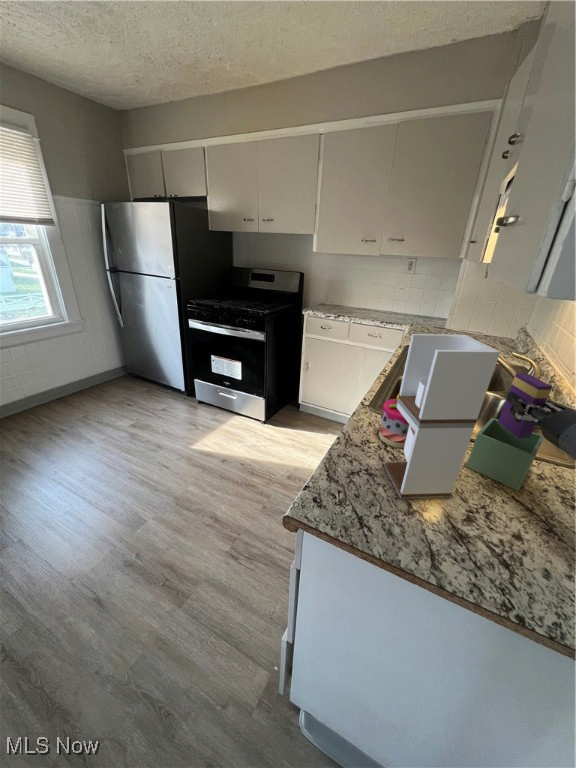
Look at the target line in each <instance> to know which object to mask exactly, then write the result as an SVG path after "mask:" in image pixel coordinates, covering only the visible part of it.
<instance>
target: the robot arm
mask: <svg viewBox="0 0 576 768" xmlns="http://www.w3.org/2000/svg"><path fill="white" fill-rule="evenodd" d="M506 400H507V401H508V402H510V403H511V404H512V405H511V407H510V409H509V410H510V412H511V414H512V416H513V418H514V420H515V421H516V422H521V421H522V420H527V421H530V422H531V423H532V424H533V425H535V427H537V428H540V430H541V433H542V434H541V435H542V436H544V439H545V440H546V441H548V442H549V443H550V444H552V445H553V446H555V447H556V448H557V449H559V450H560V451H561V452H562V453H564V454H566V455H567V456H568V457H569V458H571V459H572V460H574V461H575V462H576V409H574V408H572V407H569V406H567V405H563V404H562V403H561V404H560V403H558V402H555V401H553V400H551V399H550V400H549V399H547V400H546V402H545V403H544V405H543V407H542V406H540V405H538V404H536V403H534V402H530V403H529V402H527V401H526V400H524V399H522V398H521V397H519V396H518V395H516V394H514V393H513V392H509V391H508V392H507V395H506V398H505V401H506ZM523 405H525V406H526V407H525V409H523Z"/></svg>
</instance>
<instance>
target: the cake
mask: <svg viewBox="0 0 576 768" xmlns="http://www.w3.org/2000/svg"><path fill="white" fill-rule="evenodd" d="M398 398H399V393H398V394H397V396H396V398H391V399H387V400H386V401H385V402H384V403H383V406H382V410H381V415H380V419H381V421H380V422H381V424H380V425H379V426H378V428H379V433H378V437H379V438H380V440H381V441H382V442H383V443H385V444H387V445H388V446H391V447H394V448H399V449H404V446H405V441H406V437H407V433H408V429H409V425H410V424H409V423H408V422H407V421H406V419H405V418H404V417H403V415H402V414H401V413H400V411H399V410H398V409H397V403H398Z"/></svg>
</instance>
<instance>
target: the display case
mask: <svg viewBox="0 0 576 768" xmlns="http://www.w3.org/2000/svg"><path fill="white" fill-rule="evenodd" d="M500 354H501V351H499V350H497V349H495V348H493V347H491V346H489V345H487V344H485V343H483V342H481V341H480V340H477V339H475V338H473V337H471V336H469V335H467V334H454V333H453V334H451V333H450V334H449V333H447V334H446V333H444V334H443V333H440V334H439V333H438V334H437V333H436V334H435V333H411V335H410V340H409V346H408V351H407V356H406V361H405V365H404V369H403V373H402V374H403V375H402V379H401V383H400V389H399V393H398V394H399V398H398V403H397V409H398V410H399V411H400V413H401V414H402V415H403V417H404V418H405V419H406V421H407V422H408V423H409V424H410V425H409V429H408V433H407V437H406V441H405V446H404V448H403V455H404V458H405V460H406V461H391V462H390V461H387V462H386V461H385V462H384V465H383V467H384V469H385V471H386V473H387V475H388V477H389V478H390V481H391V483H392V484H393V486H394V488H395V491H396V492H397V494H398V496H399V498H400V499H401V500H402V499H434V498H438V499H439V498H451V497H452V494H453V491H454V489H455V485H456V483H457V480H458V476H459V473H460V470H461V468H462V465H463V461H464V459H465V456H466V453H467V450H468V447H469V444H470V442H471V438H472V435H473V433H474V430H475V427H476V424H477V421H478V418H479V415H480V412H481V409H482V406H483V404H484V400H485V398H486V395H487V392H488V389H489V386H490V383H491V380H492V378H493V377H492V376H493V374H494V372H495V369H496V366H497V363H498V359H499V357H500Z"/></svg>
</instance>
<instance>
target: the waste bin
mask: <svg viewBox="0 0 576 768" xmlns="http://www.w3.org/2000/svg"><path fill="white" fill-rule="evenodd" d="M498 421H499V418H498V419H497V418H495V417H491V418H490V419H489V420H488V421H487V423H485V425H483V427H482V428H481V429H480V430H479V431H478V433H477V434H476V437H475V440H474V442H473V444H472V448H471V451H470V454H469V457H468V458H467V459H468V460H467V463H466V467H467V468H468V469H471V470H473V471H474V472H477V473H479V474H481V475H483V476H485V477H488V478H489V479H491V480H494V481H496V482H498V483H500V484H502V485H504V486H506V487H509V488H511V489H513V490H515V491H517V492H519V491H520V489H521V487H522V485H523V483H524V481H525V479H526V477H527V475H528V473H529V472H530V469H531V467H532V465H533V462H534V461H535V458H536V456H537V454H538V452H539V450H540V447H541V445H542V443H543V441H544V439H545V438H544V436H543V434H539V433H537V432H534V431H533V432H532V434H531V437H530V438H518V437H517V436H516V435H514V434H513V433H512V432H511V431H509V430H508V429H507V428H506V427H504V426H503V425H502V424H501V423H499V422H498Z"/></svg>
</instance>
